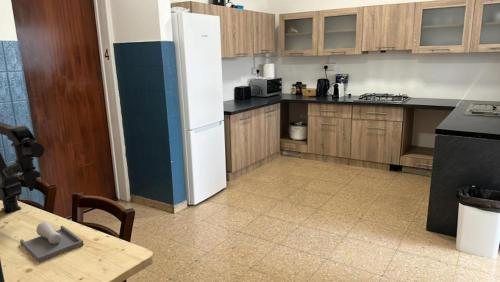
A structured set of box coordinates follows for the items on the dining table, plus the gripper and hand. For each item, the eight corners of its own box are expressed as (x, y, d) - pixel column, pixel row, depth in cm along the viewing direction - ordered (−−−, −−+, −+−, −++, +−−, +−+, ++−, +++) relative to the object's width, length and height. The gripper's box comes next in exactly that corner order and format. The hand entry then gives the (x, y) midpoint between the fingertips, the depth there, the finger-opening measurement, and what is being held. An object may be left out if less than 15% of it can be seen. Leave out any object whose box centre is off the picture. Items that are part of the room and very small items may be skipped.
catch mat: (20, 244, 139) (19, 239, 139) (63, 229, 150) (62, 225, 150) (39, 262, 127) (38, 258, 127) (83, 245, 138) (83, 240, 138)
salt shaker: (39, 217, 144) (54, 230, 136) (52, 221, 148) (67, 234, 140) (31, 231, 143) (45, 245, 135) (44, 235, 147) (58, 248, 139)
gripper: (-2, 157, 157) (5, 191, 161) (5, 164, 144) (14, 201, 147) (27, 151, 165) (34, 184, 168) (37, 157, 151) (44, 193, 154)
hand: (31, 190), depth 159 cm, fingers closed
